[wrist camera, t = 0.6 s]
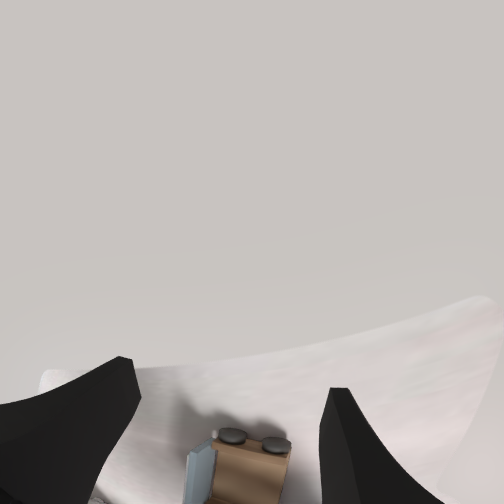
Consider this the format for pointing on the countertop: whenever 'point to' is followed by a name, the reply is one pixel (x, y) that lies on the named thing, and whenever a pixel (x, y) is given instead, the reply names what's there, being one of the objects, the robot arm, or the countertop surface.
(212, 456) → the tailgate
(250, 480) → the cart bed
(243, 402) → the countertop surface
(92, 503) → the tall pale column
